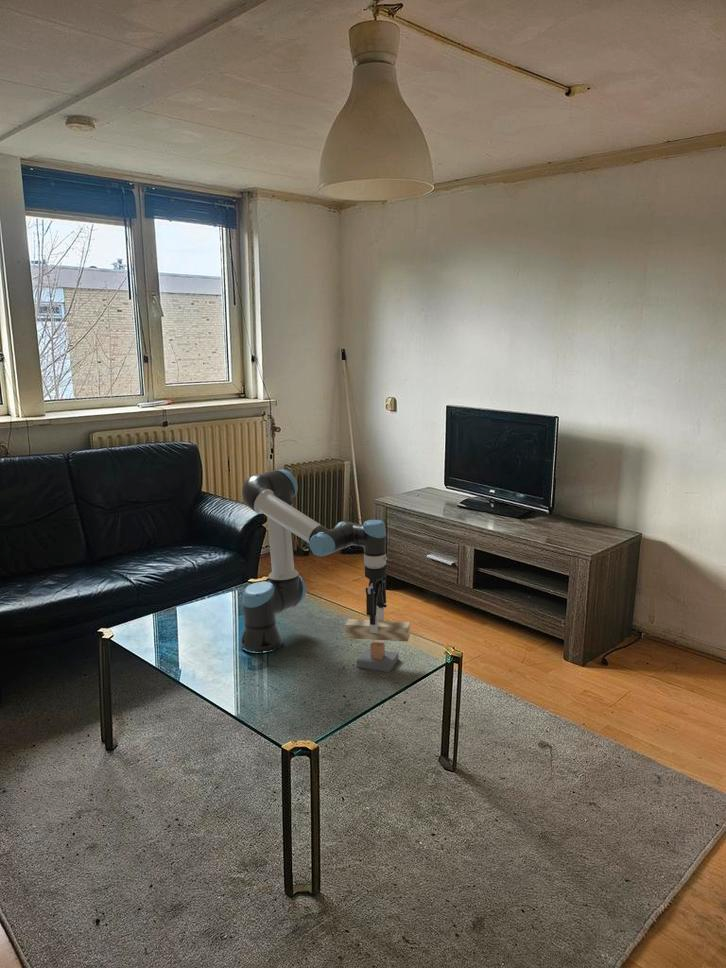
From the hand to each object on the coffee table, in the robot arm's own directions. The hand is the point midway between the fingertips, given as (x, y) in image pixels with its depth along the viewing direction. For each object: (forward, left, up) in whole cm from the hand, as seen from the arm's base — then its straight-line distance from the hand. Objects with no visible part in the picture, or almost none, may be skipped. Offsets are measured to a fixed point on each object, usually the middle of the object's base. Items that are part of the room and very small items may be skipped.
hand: (377, 628), depth 239 cm
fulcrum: (0, 0, -13) cm, 13 cm away
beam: (0, 0, -3) cm, 3 cm away
